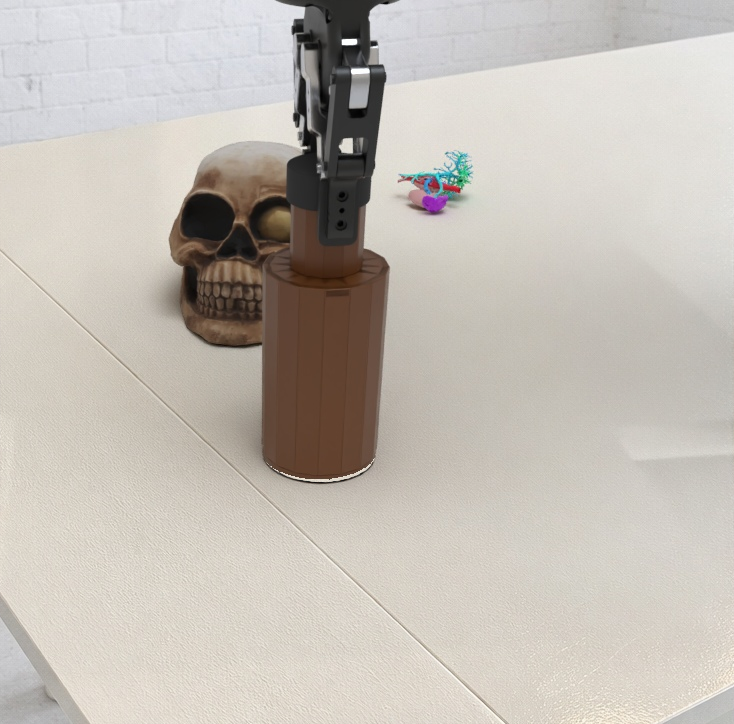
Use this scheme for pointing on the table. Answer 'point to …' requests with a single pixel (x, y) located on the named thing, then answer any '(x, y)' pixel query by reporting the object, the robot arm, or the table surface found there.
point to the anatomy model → (438, 184)
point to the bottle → (322, 352)
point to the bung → (312, 183)
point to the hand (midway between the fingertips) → (327, 225)
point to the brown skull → (231, 238)
